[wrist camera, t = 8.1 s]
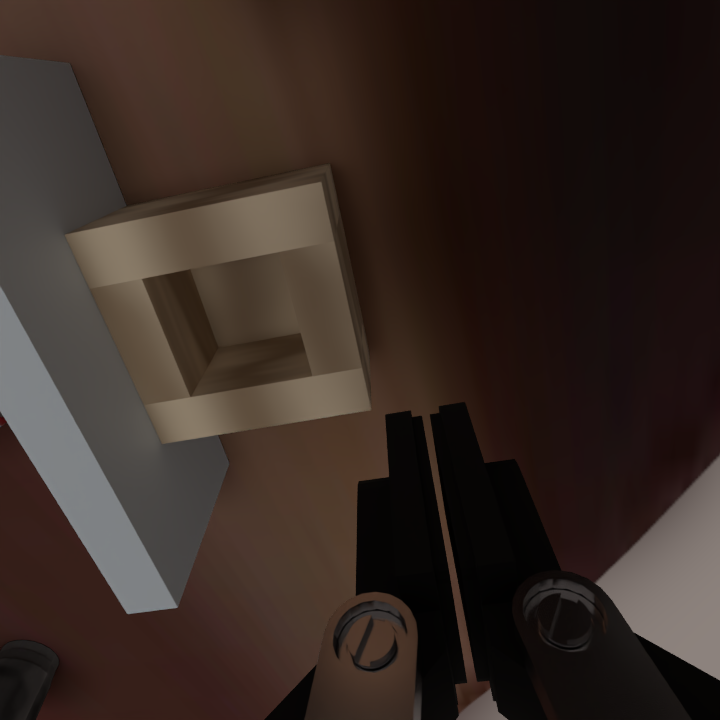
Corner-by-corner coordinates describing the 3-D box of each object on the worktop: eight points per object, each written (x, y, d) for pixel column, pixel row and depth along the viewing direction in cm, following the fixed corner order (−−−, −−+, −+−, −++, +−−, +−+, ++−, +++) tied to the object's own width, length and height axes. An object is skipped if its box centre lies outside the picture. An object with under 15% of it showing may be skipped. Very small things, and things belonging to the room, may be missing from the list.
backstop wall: (69, 63, 21) (-136, 39, 13) (229, 463, 31) (177, 607, 23) (18, 75, 22) (-220, 60, 13) (192, 469, 32) (127, 614, 23)
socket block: (330, 162, 24) (321, 181, 18) (369, 350, 28) (371, 410, 23) (129, 204, 24) (64, 234, 19) (198, 380, 29) (162, 444, 24)
